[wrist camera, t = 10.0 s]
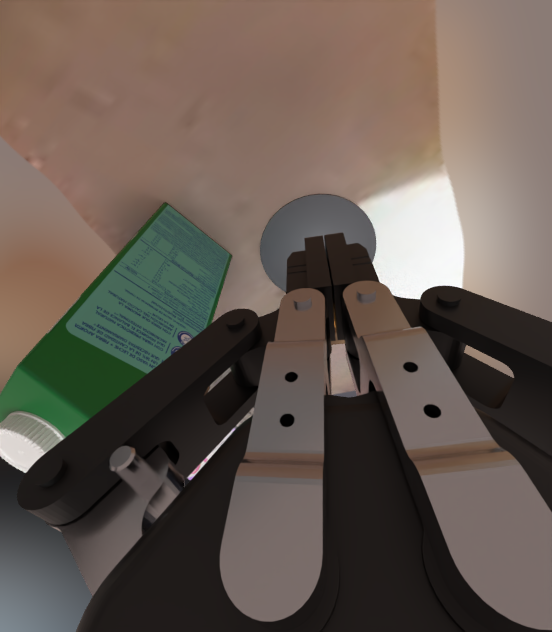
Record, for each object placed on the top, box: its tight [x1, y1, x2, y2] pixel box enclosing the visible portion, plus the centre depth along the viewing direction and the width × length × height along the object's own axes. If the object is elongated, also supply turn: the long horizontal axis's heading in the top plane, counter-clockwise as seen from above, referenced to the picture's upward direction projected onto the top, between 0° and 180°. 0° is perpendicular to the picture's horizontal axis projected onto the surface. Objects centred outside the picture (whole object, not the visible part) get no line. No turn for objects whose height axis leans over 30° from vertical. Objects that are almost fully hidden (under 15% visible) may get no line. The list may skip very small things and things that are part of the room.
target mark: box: [260, 194, 376, 292], centre depth 35 cm, size 13×13×1 cm
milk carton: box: [0, 202, 232, 473], centre depth 27 cm, size 9×9×25 cm
